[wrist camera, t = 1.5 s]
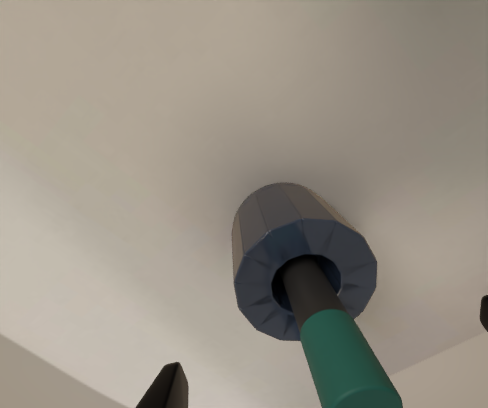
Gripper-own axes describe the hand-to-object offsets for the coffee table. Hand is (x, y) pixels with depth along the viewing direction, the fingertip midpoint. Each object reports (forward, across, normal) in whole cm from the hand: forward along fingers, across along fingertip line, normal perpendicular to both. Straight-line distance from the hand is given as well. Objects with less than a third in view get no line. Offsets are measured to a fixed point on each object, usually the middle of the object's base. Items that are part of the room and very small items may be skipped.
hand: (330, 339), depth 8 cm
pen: (+7, 0, 0) cm, 7 cm away
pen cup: (+8, 0, 0) cm, 8 cm away
